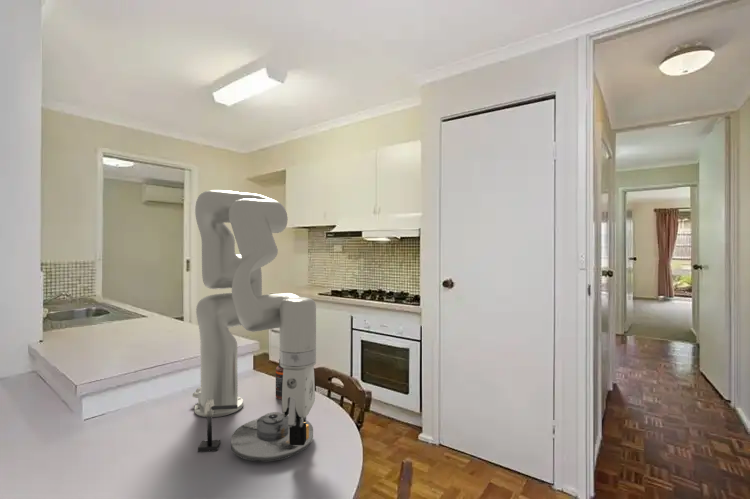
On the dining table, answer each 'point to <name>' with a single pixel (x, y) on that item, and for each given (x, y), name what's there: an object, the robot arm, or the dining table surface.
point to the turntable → (265, 444)
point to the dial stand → (208, 412)
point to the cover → (272, 427)
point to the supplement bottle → (279, 381)
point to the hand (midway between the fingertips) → (297, 443)
